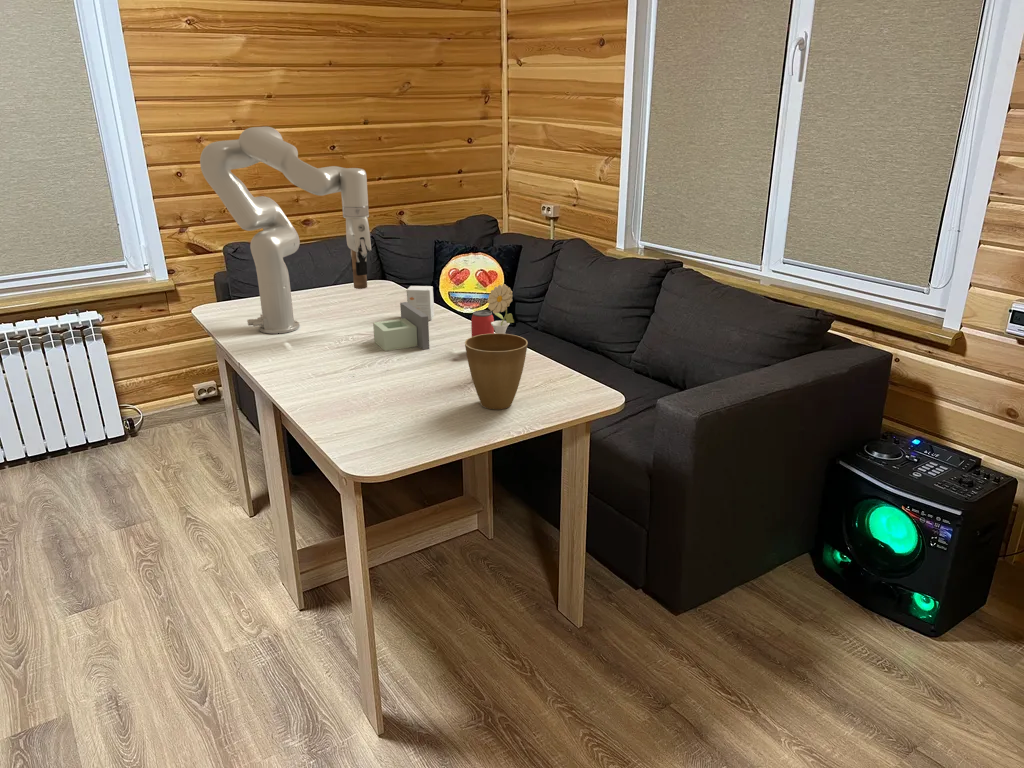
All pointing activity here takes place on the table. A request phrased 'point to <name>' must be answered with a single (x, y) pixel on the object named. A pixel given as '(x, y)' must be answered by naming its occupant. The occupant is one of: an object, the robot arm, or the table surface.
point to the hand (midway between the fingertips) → (359, 272)
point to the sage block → (395, 334)
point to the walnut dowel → (360, 280)
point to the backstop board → (417, 323)
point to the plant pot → (496, 367)
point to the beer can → (482, 323)
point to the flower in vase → (500, 307)
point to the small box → (422, 299)
